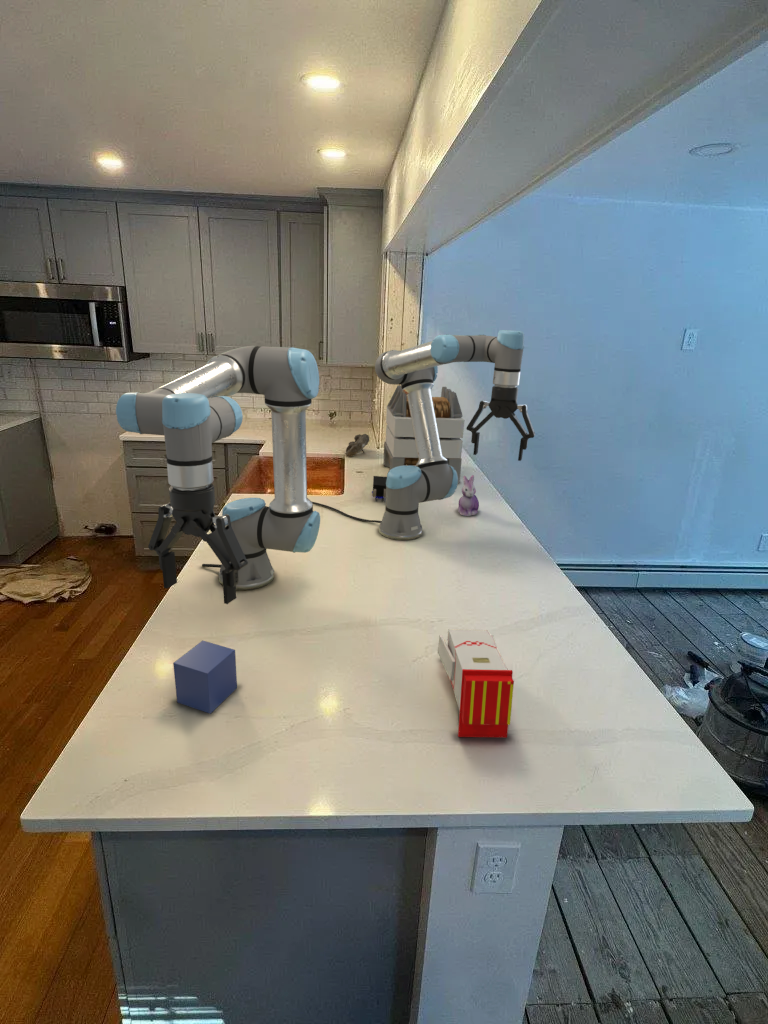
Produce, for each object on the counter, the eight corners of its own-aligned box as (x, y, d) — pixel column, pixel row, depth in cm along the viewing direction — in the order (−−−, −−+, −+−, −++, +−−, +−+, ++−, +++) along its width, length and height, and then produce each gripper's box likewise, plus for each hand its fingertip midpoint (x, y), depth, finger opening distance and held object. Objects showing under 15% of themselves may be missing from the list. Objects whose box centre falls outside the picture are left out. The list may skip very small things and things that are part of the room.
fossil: (345, 440, 316) (366, 424, 311) (356, 453, 319) (377, 438, 314) (339, 453, 297) (361, 437, 292) (350, 467, 300) (373, 452, 295)
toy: (488, 613, 130) (523, 677, 101) (484, 667, 133) (517, 744, 104) (435, 612, 130) (455, 676, 101) (432, 666, 133) (451, 743, 103)
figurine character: (387, 506, 231) (387, 491, 244) (388, 489, 228) (388, 474, 241) (371, 505, 231) (371, 490, 244) (372, 488, 227) (372, 474, 241)
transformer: (382, 463, 289) (386, 382, 275) (445, 464, 293) (451, 384, 279) (390, 482, 257) (394, 392, 243) (460, 483, 261) (468, 394, 247)
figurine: (465, 518, 217) (469, 480, 212) (450, 509, 226) (454, 473, 221) (485, 515, 222) (489, 478, 217) (470, 507, 230) (473, 471, 225)
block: (210, 713, 109) (207, 673, 106) (176, 702, 112) (173, 662, 108) (237, 688, 117) (235, 649, 113) (205, 677, 119) (202, 640, 116)
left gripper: (264, 489, 98) (268, 598, 105) (150, 469, 106) (161, 571, 114) (239, 501, 91) (244, 617, 99) (119, 479, 100) (132, 587, 107)
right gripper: (550, 388, 164) (540, 459, 172) (466, 381, 173) (460, 449, 180) (547, 391, 158) (537, 465, 165) (460, 383, 166) (454, 454, 173)
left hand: (199, 593), depth 106 cm, fingers open, 13 cm apart
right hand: (497, 456), depth 172 cm, fingers open, 13 cm apart
